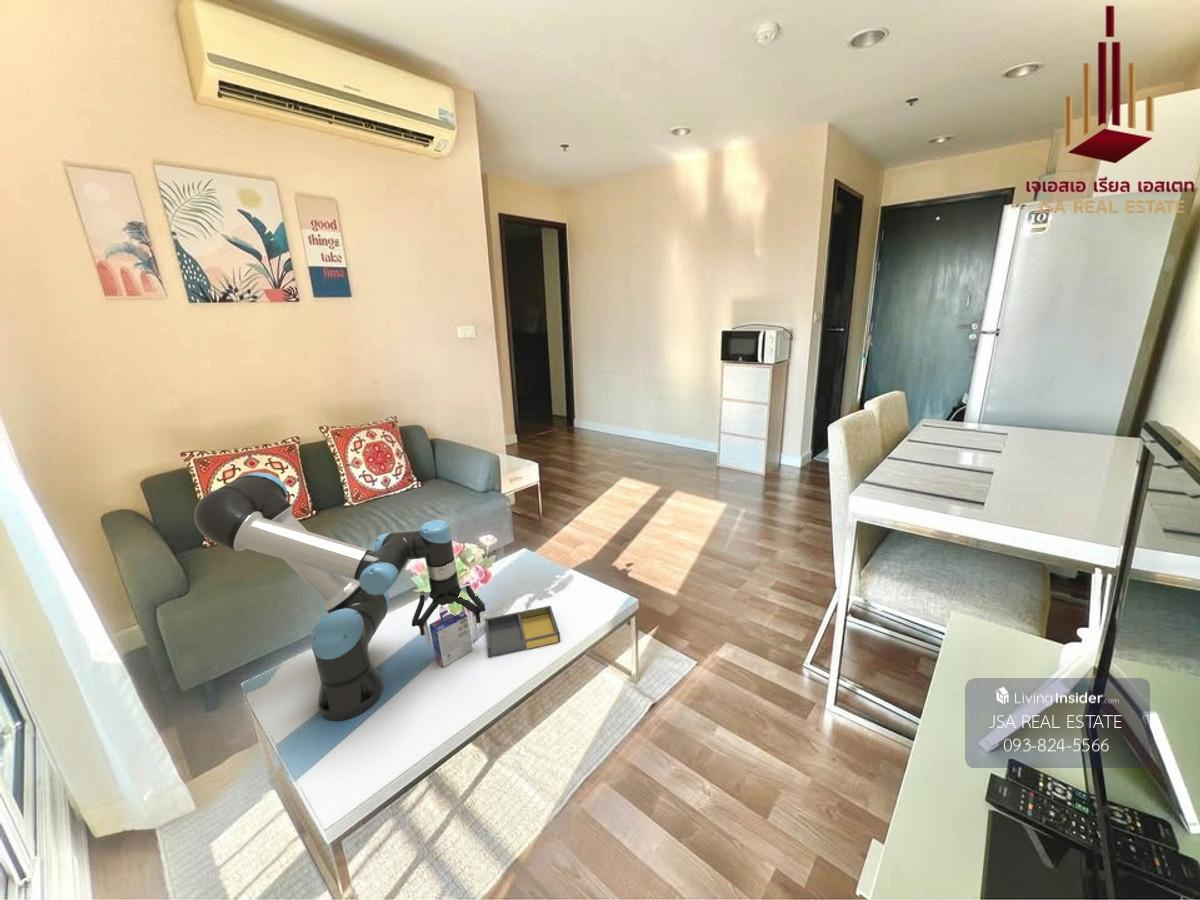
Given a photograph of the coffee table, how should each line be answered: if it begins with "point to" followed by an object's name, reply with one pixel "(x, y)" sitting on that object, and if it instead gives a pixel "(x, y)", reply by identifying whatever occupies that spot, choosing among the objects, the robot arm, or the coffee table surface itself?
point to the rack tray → (521, 631)
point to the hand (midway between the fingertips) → (453, 637)
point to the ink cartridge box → (450, 637)
